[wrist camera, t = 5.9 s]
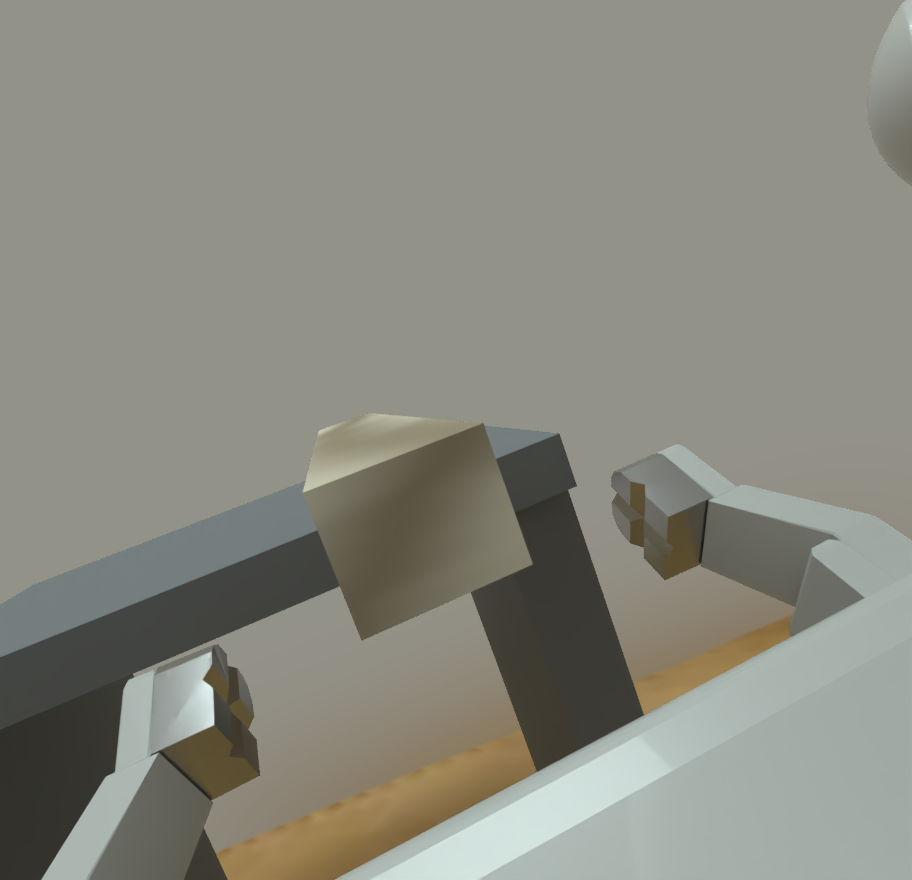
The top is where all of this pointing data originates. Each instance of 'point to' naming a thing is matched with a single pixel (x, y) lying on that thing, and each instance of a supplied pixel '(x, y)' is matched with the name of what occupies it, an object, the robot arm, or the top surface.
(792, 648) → the robot arm
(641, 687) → the top surface
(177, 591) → the grey step stool
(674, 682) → the top surface
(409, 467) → the bar
